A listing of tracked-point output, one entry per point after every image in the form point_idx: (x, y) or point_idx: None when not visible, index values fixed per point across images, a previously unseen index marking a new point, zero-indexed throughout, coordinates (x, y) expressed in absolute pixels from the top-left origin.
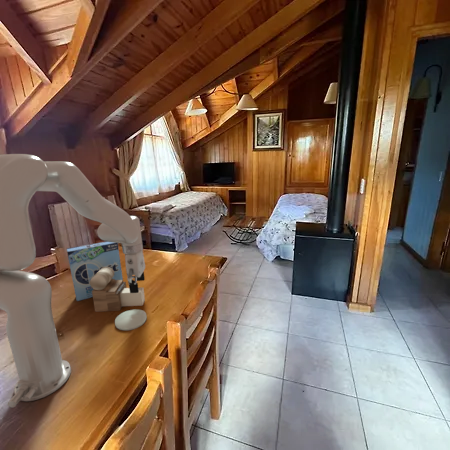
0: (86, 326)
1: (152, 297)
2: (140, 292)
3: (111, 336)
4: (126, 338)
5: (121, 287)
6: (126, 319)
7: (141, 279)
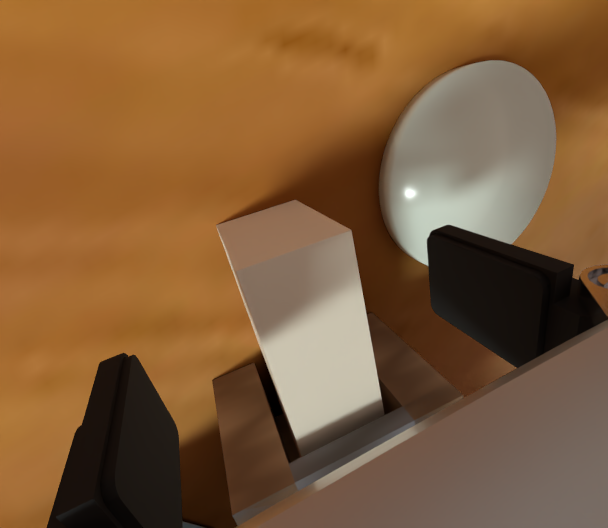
0: (488, 361)
1: (148, 176)
2: (351, 235)
3: (561, 202)
4: (587, 112)
5: (357, 452)
6: (491, 196)
7: (147, 393)
